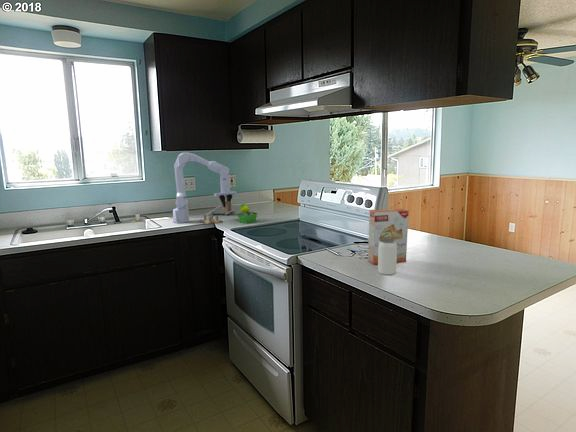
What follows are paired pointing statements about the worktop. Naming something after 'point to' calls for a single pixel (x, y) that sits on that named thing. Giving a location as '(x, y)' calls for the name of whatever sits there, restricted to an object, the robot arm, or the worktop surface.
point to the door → (226, 206)
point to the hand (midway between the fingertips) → (226, 206)
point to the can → (387, 256)
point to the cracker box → (388, 231)
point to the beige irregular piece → (211, 220)
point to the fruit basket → (246, 215)
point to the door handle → (219, 208)
